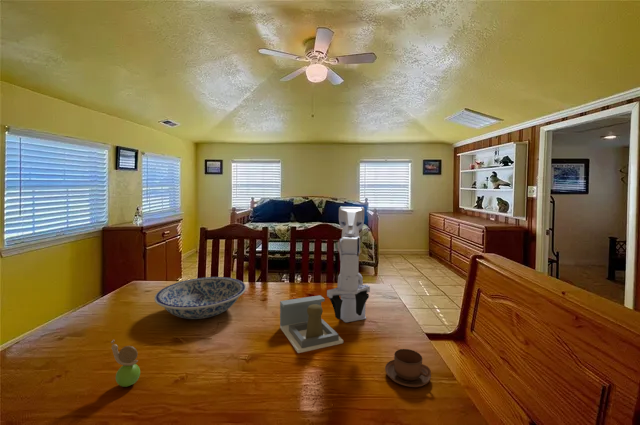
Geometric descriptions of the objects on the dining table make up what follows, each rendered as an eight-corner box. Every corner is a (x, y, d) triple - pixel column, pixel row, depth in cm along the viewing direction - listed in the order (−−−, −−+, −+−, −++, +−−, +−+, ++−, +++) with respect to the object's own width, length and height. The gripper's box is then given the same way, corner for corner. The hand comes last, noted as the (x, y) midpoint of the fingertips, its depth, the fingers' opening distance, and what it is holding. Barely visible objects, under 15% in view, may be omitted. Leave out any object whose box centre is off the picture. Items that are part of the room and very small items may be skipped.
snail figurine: (119, 378, 82) (117, 335, 82) (144, 377, 83) (143, 334, 82) (107, 392, 77) (105, 345, 76) (134, 391, 78) (132, 345, 77)
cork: (323, 341, 101) (323, 309, 100) (304, 341, 101) (305, 308, 101) (323, 333, 107) (324, 302, 106) (306, 332, 108) (306, 302, 107)
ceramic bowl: (134, 322, 117) (133, 296, 116) (200, 293, 148) (200, 273, 147) (205, 340, 104) (205, 311, 103) (262, 304, 135) (262, 282, 135)
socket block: (319, 320, 120) (320, 295, 119) (343, 343, 103) (343, 313, 102) (280, 327, 113) (280, 301, 113) (297, 353, 96) (298, 322, 95)
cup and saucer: (430, 369, 89) (431, 349, 88) (430, 396, 77) (431, 372, 77) (387, 361, 92) (388, 341, 92) (382, 385, 81) (383, 363, 81)
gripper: (334, 280, 91) (333, 325, 93) (375, 275, 97) (374, 317, 98) (324, 274, 98) (323, 316, 99) (363, 270, 104) (362, 309, 105)
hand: (348, 316), depth 99 cm, fingers open, 7 cm apart
